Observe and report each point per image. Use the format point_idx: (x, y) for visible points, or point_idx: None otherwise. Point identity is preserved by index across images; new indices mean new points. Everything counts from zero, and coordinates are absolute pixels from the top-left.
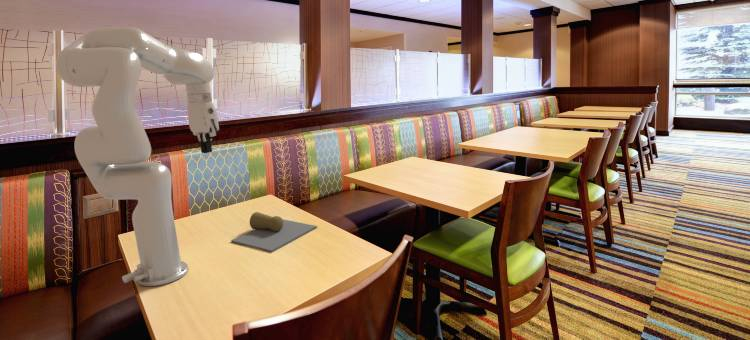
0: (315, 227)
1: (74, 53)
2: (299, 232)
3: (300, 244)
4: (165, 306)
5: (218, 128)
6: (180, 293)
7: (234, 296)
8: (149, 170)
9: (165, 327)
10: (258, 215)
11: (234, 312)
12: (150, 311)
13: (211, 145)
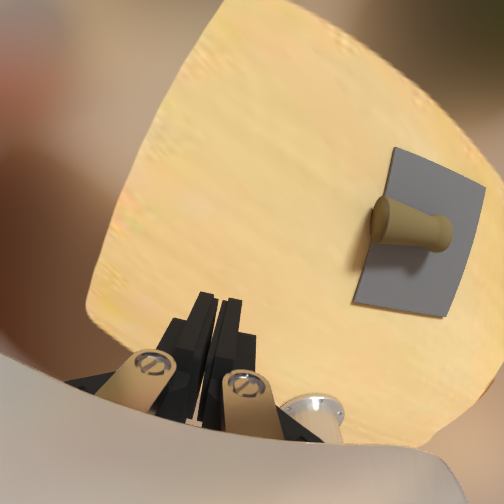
0: (483, 192)
1: None
2: (468, 228)
3: (476, 272)
4: None
5: (449, 484)
6: (363, 431)
7: (426, 412)
8: None
9: None
10: (402, 234)
11: (433, 425)
12: None
13: (238, 325)
